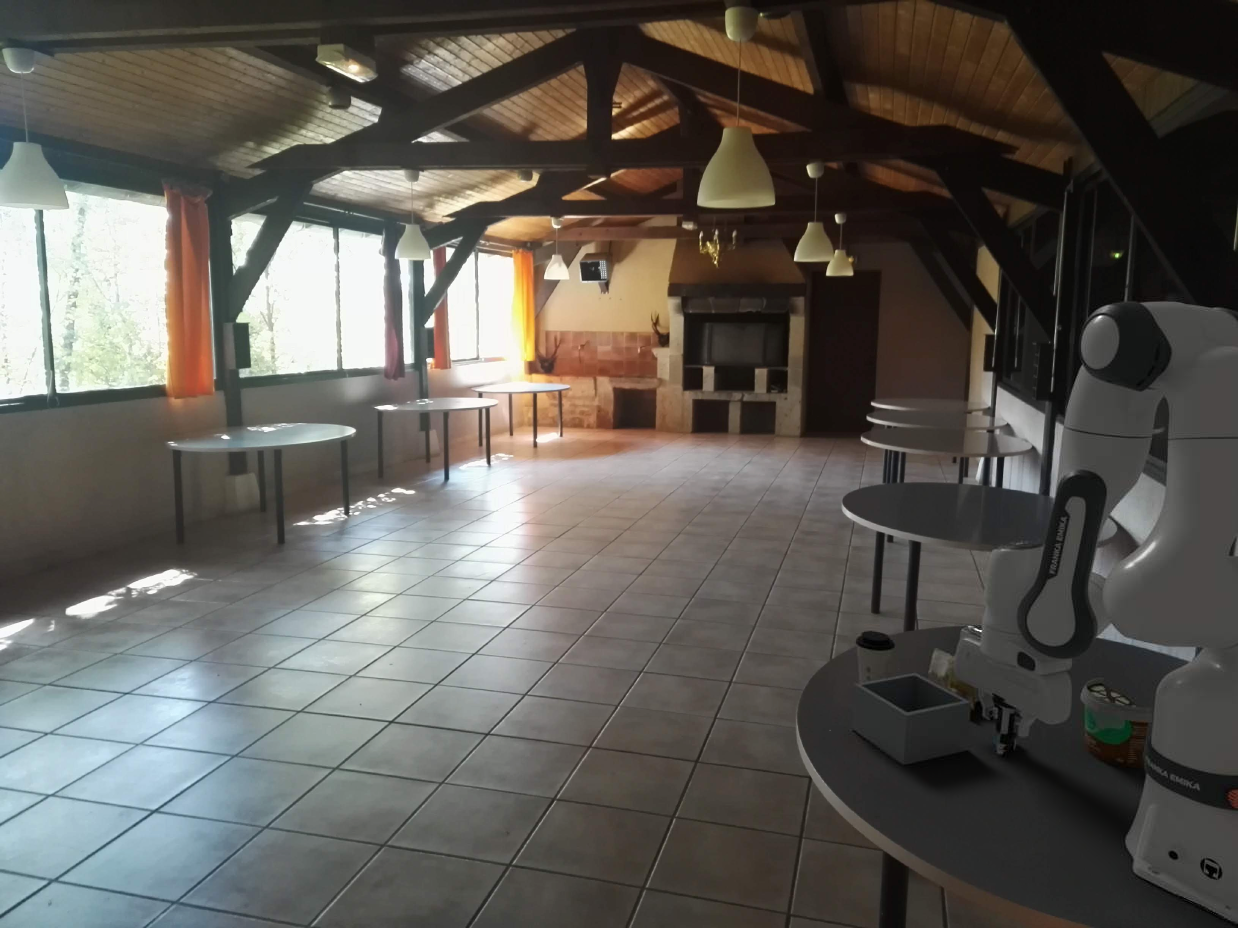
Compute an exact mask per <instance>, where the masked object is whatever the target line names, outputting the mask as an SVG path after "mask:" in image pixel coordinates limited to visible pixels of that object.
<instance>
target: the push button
mask: <svg viewBox="0 0 1238 928" xmlns="http://www.w3.org/2000/svg"><path fill="white" fill-rule="evenodd" d="M992 695H993V696H994V697H993V701H994V702H993V703H994V704H996V705H997V706H999V707H1000V708H1001V711H1000V712H1001V715H1000V717H999V720H998V721H997V722H996V724H995V732H996V733H995V735H994V741H993V744H994V745H995V751H996V754H999V755H1003V754H1008V752H1009V751H1010V749H1011V748H1012V746H1013V750H1015V749H1016V747H1017V740H1018V739H1017V738H1018V735H1016V734H1015V733H1013V730H1014V727H1013V726H1014V723H1016V718H1015V714H1016V712H1015V711H1020V710H1019V709H1017V708H1015V707H1013V706H1011V705H1009V704H1007V703H1005V702H1003V701H1005V699H1004V698H1002V697H1000V696H998V695H996V694H994V693H992Z"/></svg>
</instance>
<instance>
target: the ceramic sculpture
mask: <svg viewBox="0 0 1238 928" xmlns="http://www.w3.org/2000/svg"><path fill="white" fill-rule="evenodd" d="M954 660H955V655H952V654H950V653H947V652H945V651H944V650H941V649H940V648H938V647H935V648H934V650H933V654H932V656H931V660H930V665H929V668H928V672H927V676H928V677H927V679H928V680H930V681H932V682H934V683H936V684H937V685H939V686H941V687H943V688H945V689H947V690H949V691H951V692H953V693H955V694H956V695H958V696H960V697H962V698H964V699H966V700H968V701H970V702H971V710H970V712H975V709H976V708H975V706H976V703H979V702H980V699H979V696H978V689H977V688H975V687H973V686H971V685H969V684H968V683H966V682H964V681H962V680H960V679H958V678H956V676H955V673H954ZM992 699H993V696H992ZM993 703H994V701H993Z"/></svg>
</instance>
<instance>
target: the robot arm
mask: <svg viewBox="0 0 1238 928" xmlns="http://www.w3.org/2000/svg"><path fill="white" fill-rule="evenodd" d="M1078 353H1079V359H1080V361H1081V364H1082V365H1081V366H1080V368H1079V370H1078V373H1077V376H1076V378H1075V381H1074V383H1073V386H1072V389H1071V392H1070V396H1069V400H1068V402H1067V403H1068V404H1067V408H1066V412H1065V416H1064V422H1063V428H1062V433H1061V434H1062V435H1061V443H1060V449H1059V451H1060V452H1059V460H1058V471H1057V478H1056V486H1055V493H1054V502H1053V506H1052V510H1051V515H1050V520H1049V522H1048V523H1049V524H1048V528H1047V532H1046V537H1045V541H1044V543H1043V542H1041V541H1036V540H1028V539H1027V540H1026V539H1024V540H1014V541H1007V542H1004V543H1002V544H999V545H997V546H996V547H995V548H994V549H992V551H991V553H990V555H989V558H988V562H987V567H986V574H985V581H984V592H983V595H984V599H985V610H984V613H983V616H982V619H981V629H979V628H977V627H976V626H974V625H967V626H964V627H963V628H962V629H961V630H960V633H959V641H958V644H957V646H956V650H955V651H956V652H955V654H954V656H955V660H954V673H955V676H956V678H958V679H960V680H962V681H964V682H966V683H968V684H969V685H971V686H973V687H975V688H977V689H978V696H979V699H980V701H979V702H980V704H981V706H982V714H981V715H982V717H983V718H985V719H987V720H989V721H994V720H997V719H998V718H999V717H998V716H999V715H998V713H999V708H998V707H996V706H995V703H994V702H993V699H992V696H993V695H992V693H994V694H996V695H998V696H1000V697H1002V698H1004V699H1005V701H1003V702H1005V703H1007V704H1009V705H1011V706H1013V707H1015V708H1017V709H1019V710H1018V711H1019V716H1020V717H1021V720H1020V721H1019V722H1015V723H1014V726H1013V727H1014V730H1013V733H1015V734H1016V735H1017V737H1021V738H1025V737H1026V738H1027V737H1029V735H1030V727H1031V726H1032V724H1033V723H1034V722H1035V721H1036V719H1037V720H1039V721H1040V722H1043V723H1045V724H1047V725H1049V726H1050V725H1057V724H1062V723H1064V722H1065V721H1067V720H1068V719H1069V718H1070V715H1071V709H1072V699H1073V698H1072V697H1073V696H1072V695H1073V694H1072V693H1073V692H1072V691H1073V690H1072V688H1073V685H1072V681H1071V677H1070V675H1069V674H1068V673H1067V671H1068V670H1071V668H1072V666H1073V659H1074V658H1076V657H1079V656H1081V655H1082V654H1084V653H1085V652H1086V651H1087V650H1088V649H1089V648H1090V647H1091V646H1092V644H1093V642H1094V641H1095V640H1096V639H1097V638H1098V637H1099V636H1100V635H1101V634H1102V633H1103V632H1105V630H1107V628H1108V627H1109V626H1111V625H1112V626H1113V627H1114V629H1116V631H1117V632H1118V633H1119V634H1120V635H1121V636H1123V637H1125V638H1127V639H1130V640H1135V641H1140V642H1142V643H1148V644H1153V645H1157V646H1163V647H1169V648H1170V647H1172V648H1202V649H1201V651H1199V653H1198V654H1197V655H1196V656H1195V657H1194V658H1193V659H1192V660H1191V661H1190V662H1188V663H1186V664H1185V665H1183V666H1181V667H1179V668H1177V669H1174V670H1173V671H1171V672H1169V673H1168V674H1166V675H1165V676H1163V678H1162V679H1161V681H1160V682H1159V684H1158V686H1157V689H1156V691H1155V698H1154V699H1155V701H1154V709H1153V716H1152V729H1151V737H1149V738H1148V739H1147V742H1146V748H1145V754H1144V763H1143V768H1144V772H1145V780H1144V785H1143V791H1142V795H1141V798H1140V802H1139V806H1138V808H1137V811H1136V815H1135V817H1134V820H1133V822H1132V824H1131V826H1130V829H1129V831H1128V832H1127V834H1126V836H1125V846H1126V848H1127V851H1128V853H1130V855H1131V856H1132V859H1133V862H1132V870H1133V872H1134V873H1135V874H1136V875H1137V876H1138V877H1140V878H1142V879H1143V880H1146V881H1149V882H1150V883H1152V884H1154V885H1155V886H1158V887H1160V888H1162V889H1164V890H1166V891H1168V892H1171V893H1172V894H1173V895H1176V894H1177V895H1176V896H1178V895H1179V896H1178V897H1180V896H1182V897H1184V898H1187V899H1188V900H1190V901H1193V902H1196V903H1198V904H1201V905H1202V906H1205V907H1207V908H1208V909H1209V910H1212V911H1213V912H1216V913H1218V914H1219V915H1221V916H1223V917H1224V918H1227V919H1228V920H1230V921H1235V922H1237V923H1238V555H1230V552H1231V548H1232V546H1233V543H1234V541H1235V540H1236V538H1237V537H1238V311H1237V310H1233V309H1229V308H1226V307H1225V308H1224V307H1207V306H1202V305H1195V304H1189V303H1188V304H1186V303H1183V302H1177V301H1147V302H1146V301H1143V302H1138V301H1134V300H1133V301H1132V300H1129V301H1128V300H1127V301H1120V302H1119V301H1118V302H1114V303H1110V304H1107V305H1104V306H1101V307H1099V308H1097V309H1096V310H1095V311H1094V312H1092V313H1091V314H1090V315H1089V317H1088V318H1087V320H1086V321H1085V322H1084V325H1083V327H1082V329H1081V332H1080V335H1079V340H1078ZM1163 398H1165V400H1166V401H1167V402H1166V403H1167V405H1168V413H1169V414H1168V429H1167V431H1168V432H1167V433H1168V436H1167V439H1168V440H1167V461H1166V462H1167V464H1166V465H1167V466H1166V467H1167V469H1166V481H1165V492H1164V499H1163V504H1162V507H1161V510H1160V513H1159V516H1158V518H1157V520H1156V522H1155V524H1154V526H1153V527H1152V529H1151V531H1150V533H1149V534H1148V535H1147V537H1146V538H1145V539H1144V540H1143V542H1142V543H1141V544H1140V545H1139V546H1138V548H1136V549H1135V550H1134V551H1133V552H1132V553H1130V554H1129V555H1128V556H1126V557H1125V558H1124V559H1122V560H1119V562H1117V564H1116V565H1114V566H1113V567H1112V569H1111V570H1110V571H1109V573H1108V574H1107V577H1106V578H1105V577H1104V576H1102V575H1100V574H1099V573H1096V572H1093V569H1094V564H1095V559H1096V556H1097V549H1098V546H1099V541H1100V536H1101V534H1102V531H1103V528H1104V525H1105V524H1106V521H1107V520H1108V518H1109V517H1110V515H1111V514H1112V512H1113V511H1114V510H1115V508H1116V507H1117V505H1118V504H1119V503H1120V502H1121V501H1122V500H1123V499H1124V498H1125V497H1126V496H1127V495H1128V494H1129V493H1130V491H1132V490H1133V488H1134V487H1135V486H1136V485H1137V483H1138V482H1139V479H1140V477H1141V476H1142V473H1143V470H1144V468H1145V465H1146V463H1147V459H1148V458H1149V452H1150V448H1151V445H1152V439H1153V434H1154V426H1155V419H1156V412H1157V409H1158V406H1159V404H1160V402H1161V401H1162V399H1163ZM993 697H994V696H993ZM1182 897H1181V898H1182ZM1184 898H1183V899H1184ZM1188 900H1187V901H1188ZM1190 901H1189V902H1190ZM1224 918H1223V919H1224ZM1228 920H1227V921H1228ZM1230 921H1229V922H1230Z"/></svg>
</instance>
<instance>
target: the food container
mask: <svg viewBox="0 0 1238 928" xmlns="http://www.w3.org/2000/svg"><path fill="white" fill-rule="evenodd" d="M1085 683H1086V684H1084V686H1083V689H1082V691H1081V694H1080V701H1081V702H1082V703H1083V704H1084V715H1085V716H1084V725H1085V726H1084V733H1085V734H1084V736H1085V737H1084V739H1085V740H1084V741H1085V743H1084V744H1085V745H1084V748H1085V750H1086V752H1087V753H1088V754H1089V755H1091V756H1092V757H1094V758H1096V759H1097V760H1100V761H1103V762H1105V763H1108V764H1111V765H1114V766H1120V767H1125V768H1133V769H1134V768H1135V769H1136V768H1138V769H1139V768H1142V767H1141V765H1142V760H1143V755H1144V750H1145V746H1146V745H1145V744H1146V739H1147V734H1148V729H1149V723H1152V724H1153V713H1152V707H1140V706H1139V705H1137V704H1135V702H1133V701H1132V700H1131V699H1130V698H1129V697H1128V696H1126V695H1125V694H1122V693H1120V692H1118V691H1115V690H1113V689H1111V688H1110V687H1108V686H1107V685H1105V684H1104V678H1103V677H1099V678H1093V679H1090V680H1088V681H1087V682H1085Z"/></svg>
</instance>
